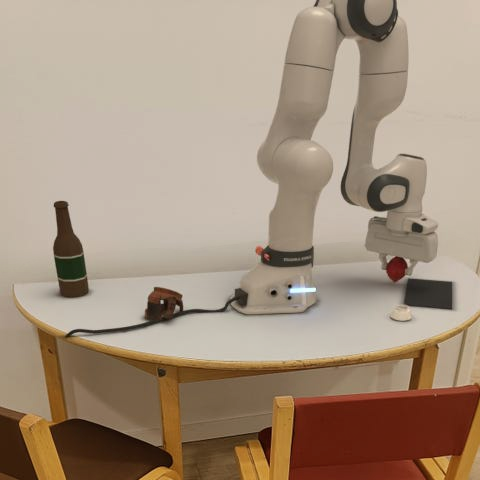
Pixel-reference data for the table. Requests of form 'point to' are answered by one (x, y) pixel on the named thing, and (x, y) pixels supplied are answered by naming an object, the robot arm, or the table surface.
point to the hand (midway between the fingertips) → (396, 272)
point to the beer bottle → (69, 255)
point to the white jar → (401, 313)
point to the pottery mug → (165, 309)
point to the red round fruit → (396, 268)
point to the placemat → (429, 293)
